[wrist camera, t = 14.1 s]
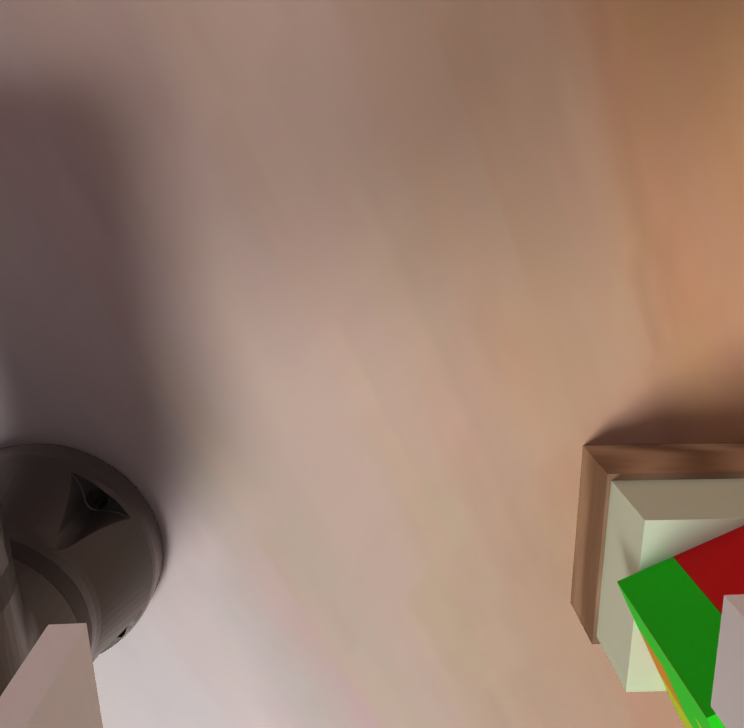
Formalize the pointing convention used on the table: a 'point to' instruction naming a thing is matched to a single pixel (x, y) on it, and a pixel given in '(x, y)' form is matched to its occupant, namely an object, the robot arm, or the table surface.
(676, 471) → the bottom slab
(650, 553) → the top slab
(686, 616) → the puzzle toy
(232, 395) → the table surface
